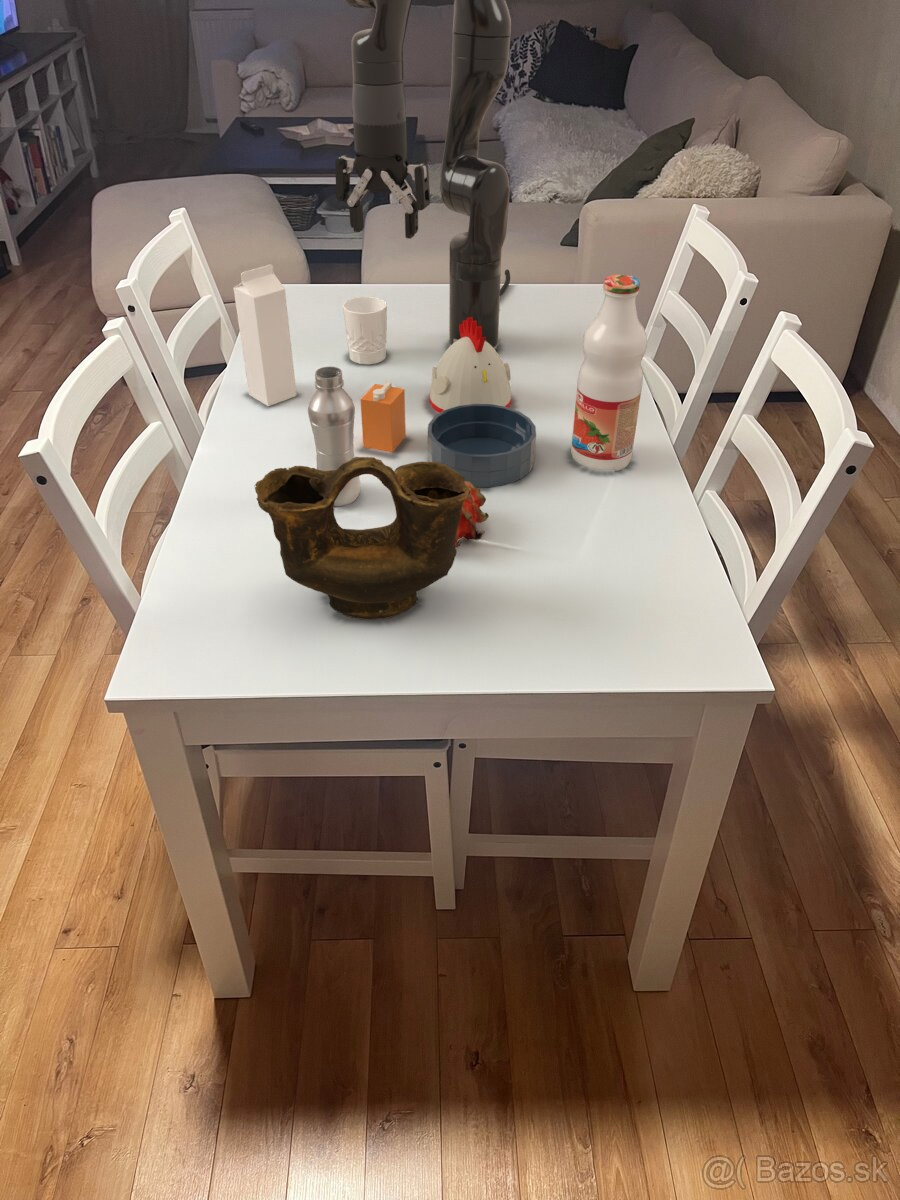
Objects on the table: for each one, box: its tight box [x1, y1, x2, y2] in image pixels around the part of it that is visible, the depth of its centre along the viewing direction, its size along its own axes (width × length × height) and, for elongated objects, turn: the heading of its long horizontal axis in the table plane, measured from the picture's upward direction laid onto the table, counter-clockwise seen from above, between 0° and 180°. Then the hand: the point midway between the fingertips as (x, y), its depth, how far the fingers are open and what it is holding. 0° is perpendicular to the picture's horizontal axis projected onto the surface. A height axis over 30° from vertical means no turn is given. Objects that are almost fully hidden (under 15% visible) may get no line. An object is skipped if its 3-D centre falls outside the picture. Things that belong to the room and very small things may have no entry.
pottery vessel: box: [254, 456, 471, 620], centre depth 113 cm, size 25×11×20 cm, turn 96°
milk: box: [233, 263, 298, 407], centre depth 155 cm, size 6×6×22 cm
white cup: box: [342, 296, 388, 365], centre depth 171 cm, size 8×8×10 cm
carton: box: [360, 381, 407, 453], centre depth 146 cm, size 6×5×10 cm
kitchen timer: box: [429, 317, 512, 414], centre depth 155 cm, size 14×14×15 cm
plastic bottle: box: [307, 366, 362, 507], centre depth 130 cm, size 6×7×20 cm
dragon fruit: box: [455, 481, 490, 549], centre depth 127 cm, size 8×8×12 cm
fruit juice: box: [570, 274, 648, 472], centre depth 137 cm, size 9×9×28 cm
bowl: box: [427, 404, 537, 488], centre depth 143 cm, size 16×16×6 cm
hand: (384, 233), depth 143 cm, fingers open, 8 cm apart
